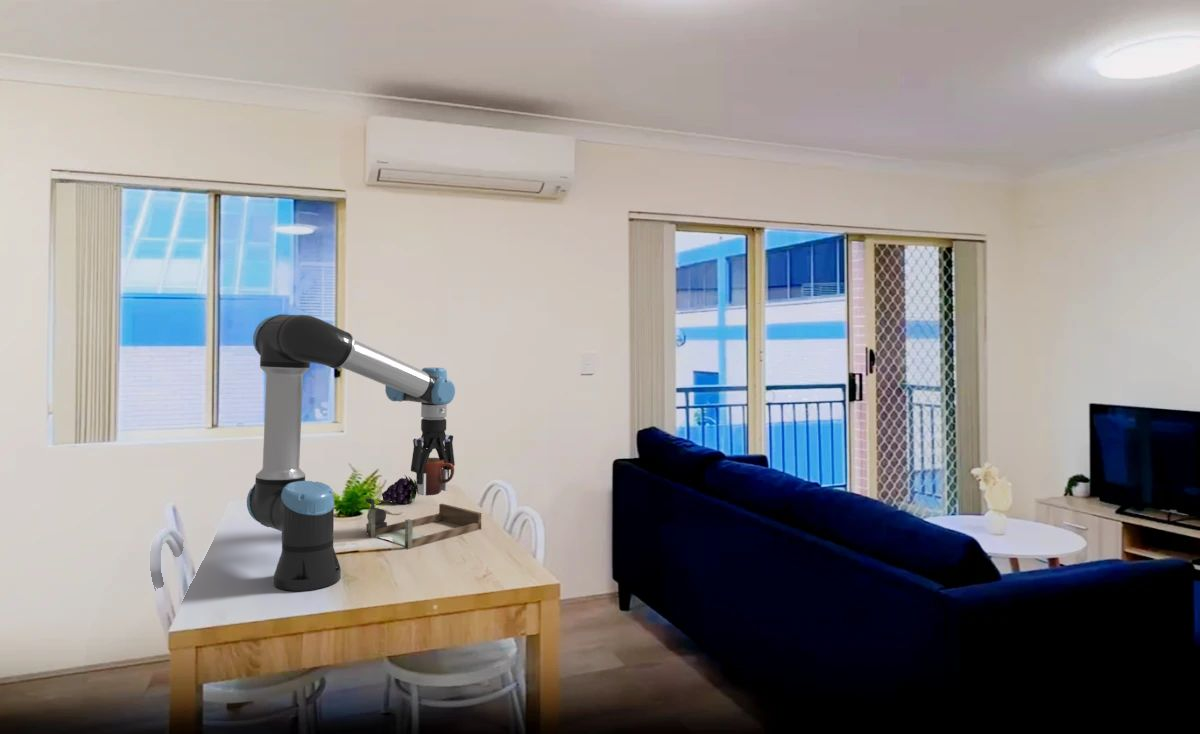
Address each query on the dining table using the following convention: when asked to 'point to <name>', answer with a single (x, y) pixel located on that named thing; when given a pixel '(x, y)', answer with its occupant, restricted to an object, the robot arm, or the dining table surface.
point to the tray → (411, 539)
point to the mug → (436, 475)
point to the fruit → (401, 491)
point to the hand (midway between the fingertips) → (432, 492)
